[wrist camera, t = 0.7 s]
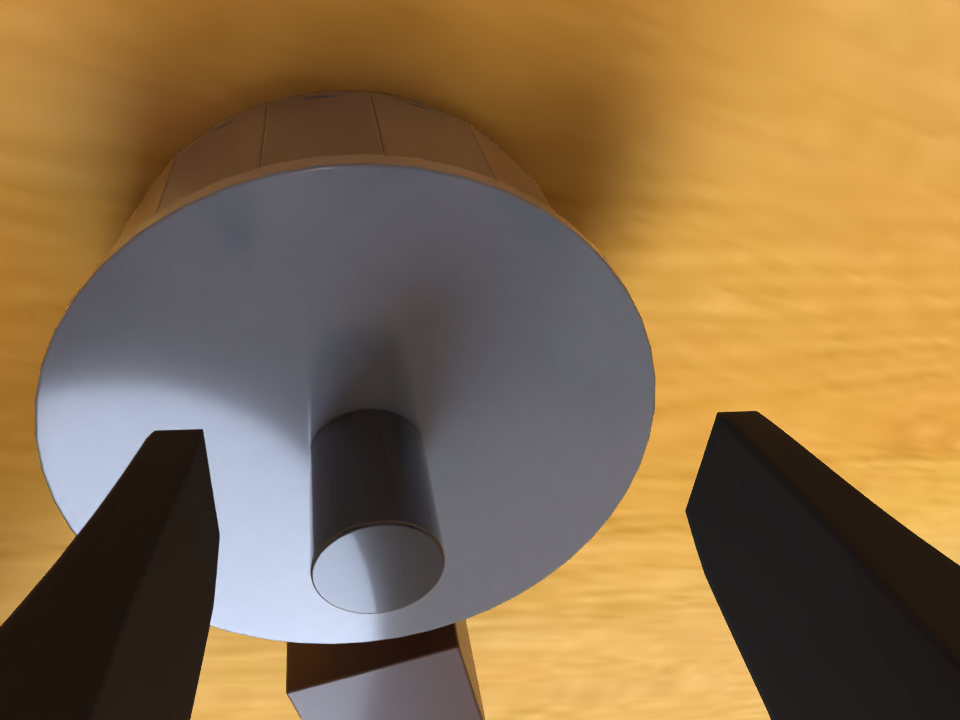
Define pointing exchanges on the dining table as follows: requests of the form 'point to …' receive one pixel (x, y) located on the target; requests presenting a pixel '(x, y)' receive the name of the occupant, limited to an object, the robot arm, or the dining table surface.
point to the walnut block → (387, 678)
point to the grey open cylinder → (329, 143)
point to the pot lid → (359, 389)
